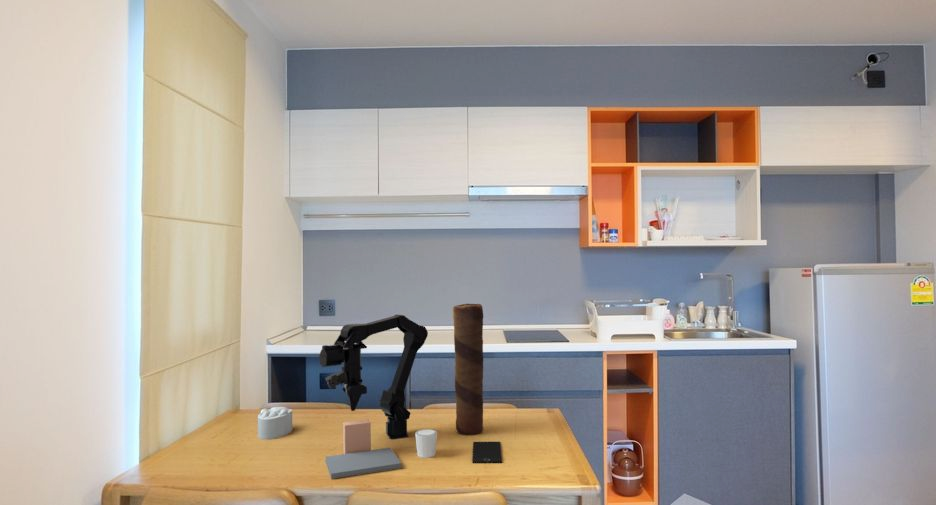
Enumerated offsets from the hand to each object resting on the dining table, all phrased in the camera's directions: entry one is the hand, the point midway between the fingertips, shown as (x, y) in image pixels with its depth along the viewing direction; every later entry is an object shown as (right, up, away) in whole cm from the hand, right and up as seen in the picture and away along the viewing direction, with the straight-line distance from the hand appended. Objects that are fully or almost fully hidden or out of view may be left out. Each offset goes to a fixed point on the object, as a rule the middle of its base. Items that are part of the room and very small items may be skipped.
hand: (352, 410), depth 179 cm
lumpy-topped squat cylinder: (-31, -13, +15) cm, 37 cm away
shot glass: (+25, -11, -9) cm, 29 cm away
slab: (+3, -12, -8) cm, 14 cm away
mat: (+6, -11, -17) cm, 21 cm away
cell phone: (+44, -12, -8) cm, 46 cm away
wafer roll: (+39, -12, +14) cm, 43 cm away
